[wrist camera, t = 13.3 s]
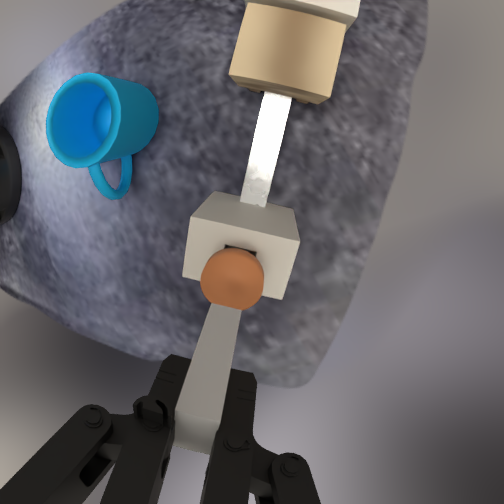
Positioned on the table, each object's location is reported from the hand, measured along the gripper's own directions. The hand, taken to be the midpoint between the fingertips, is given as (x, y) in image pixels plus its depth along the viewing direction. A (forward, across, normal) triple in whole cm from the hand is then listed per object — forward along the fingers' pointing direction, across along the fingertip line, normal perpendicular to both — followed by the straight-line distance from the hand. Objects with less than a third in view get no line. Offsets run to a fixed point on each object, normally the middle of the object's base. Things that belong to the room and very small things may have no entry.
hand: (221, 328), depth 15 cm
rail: (+17, 0, +11) cm, 20 cm away
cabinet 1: (+17, 0, 0) cm, 17 cm away
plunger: (+10, 0, 0) cm, 10 cm away
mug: (+17, -15, +7) cm, 24 cm away
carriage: (+17, 0, +16) cm, 23 cm away
